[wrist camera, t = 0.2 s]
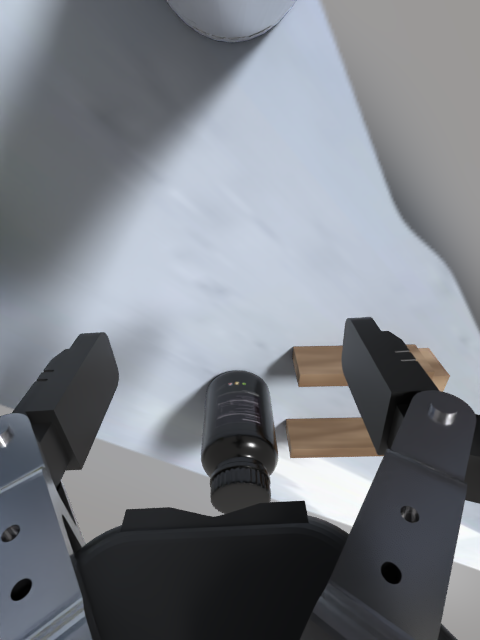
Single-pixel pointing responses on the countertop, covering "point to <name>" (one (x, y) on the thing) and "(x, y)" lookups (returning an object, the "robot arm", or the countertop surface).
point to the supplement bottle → (238, 441)
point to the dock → (339, 433)
